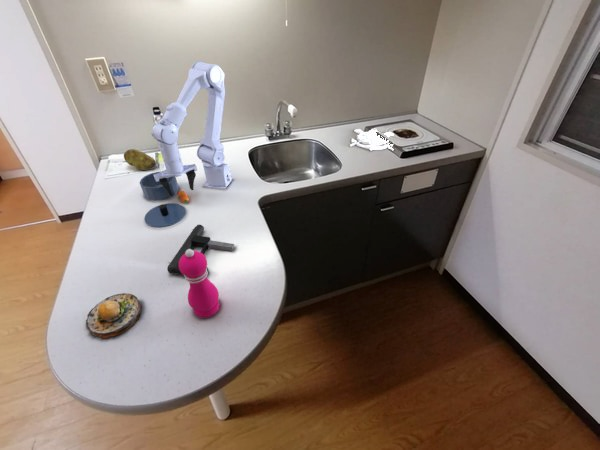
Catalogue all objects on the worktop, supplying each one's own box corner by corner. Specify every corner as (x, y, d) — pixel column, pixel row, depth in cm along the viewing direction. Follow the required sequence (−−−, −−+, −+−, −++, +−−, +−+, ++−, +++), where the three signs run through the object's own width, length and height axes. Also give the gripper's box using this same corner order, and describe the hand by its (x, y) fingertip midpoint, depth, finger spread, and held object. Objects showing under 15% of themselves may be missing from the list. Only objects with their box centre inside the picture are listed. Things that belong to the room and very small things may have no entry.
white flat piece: (348, 148, 151) (348, 146, 150) (354, 128, 172) (355, 125, 171) (393, 153, 146) (393, 150, 146) (393, 131, 168) (394, 129, 167)
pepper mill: (195, 297, 80) (175, 240, 68) (223, 295, 81) (208, 238, 68) (189, 321, 74) (167, 263, 62) (219, 318, 75) (203, 261, 62)
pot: (184, 186, 124) (181, 173, 120) (168, 203, 114) (163, 189, 110) (156, 183, 126) (152, 169, 122) (138, 199, 116) (132, 186, 112)
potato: (144, 175, 131) (137, 158, 126) (124, 168, 136) (118, 151, 131) (159, 167, 137) (154, 150, 132) (140, 160, 142) (134, 144, 137)
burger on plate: (147, 295, 81) (137, 276, 76) (133, 335, 71) (122, 316, 67) (99, 300, 80) (86, 280, 75) (79, 341, 70) (63, 322, 66)
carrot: (177, 196, 118) (175, 190, 116) (185, 194, 119) (183, 187, 117) (183, 206, 112) (181, 199, 111) (191, 204, 114) (189, 197, 112)
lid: (192, 207, 112) (190, 197, 109) (173, 231, 101) (169, 220, 99) (159, 203, 114) (155, 193, 111) (137, 226, 104) (132, 215, 101)
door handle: (239, 230, 98) (192, 222, 99) (216, 276, 83) (160, 267, 84) (240, 237, 100) (193, 230, 102) (217, 284, 85) (163, 275, 86)
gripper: (152, 168, 100) (164, 203, 108) (196, 157, 106) (204, 191, 114) (148, 160, 104) (159, 194, 113) (190, 150, 110) (197, 183, 119)
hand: (181, 192), depth 114 cm, fingers open, 7 cm apart
